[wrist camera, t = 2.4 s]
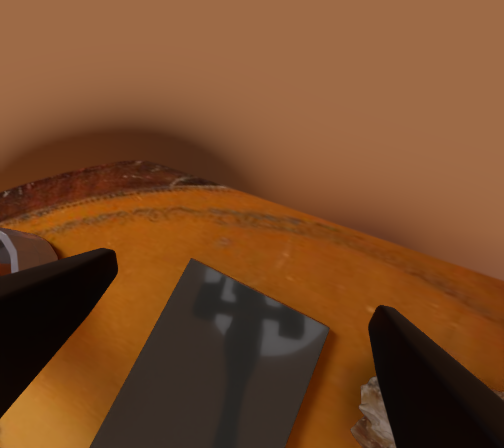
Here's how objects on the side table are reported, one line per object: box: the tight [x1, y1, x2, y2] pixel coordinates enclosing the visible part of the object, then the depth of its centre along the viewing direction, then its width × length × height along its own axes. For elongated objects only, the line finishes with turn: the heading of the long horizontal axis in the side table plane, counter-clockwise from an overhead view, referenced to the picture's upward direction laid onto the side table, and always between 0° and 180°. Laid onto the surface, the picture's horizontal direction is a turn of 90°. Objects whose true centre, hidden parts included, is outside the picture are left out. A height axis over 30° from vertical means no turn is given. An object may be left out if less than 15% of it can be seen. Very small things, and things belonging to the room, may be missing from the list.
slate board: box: [89, 258, 330, 448], centre depth 19 cm, size 18×14×1 cm
